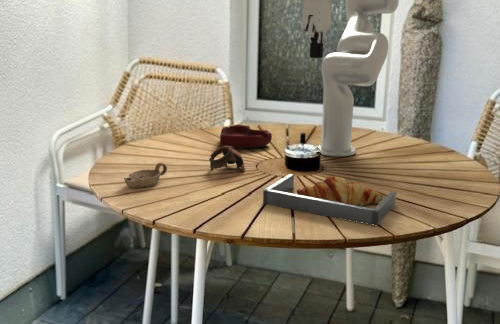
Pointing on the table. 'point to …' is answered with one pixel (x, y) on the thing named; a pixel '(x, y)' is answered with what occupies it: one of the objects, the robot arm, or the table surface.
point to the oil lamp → (145, 177)
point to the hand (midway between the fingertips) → (316, 57)
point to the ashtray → (244, 137)
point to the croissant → (342, 192)
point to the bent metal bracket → (324, 203)
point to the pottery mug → (226, 158)
